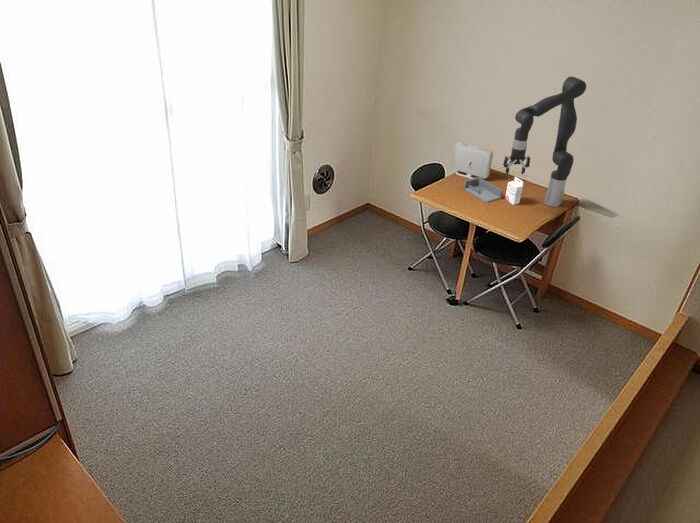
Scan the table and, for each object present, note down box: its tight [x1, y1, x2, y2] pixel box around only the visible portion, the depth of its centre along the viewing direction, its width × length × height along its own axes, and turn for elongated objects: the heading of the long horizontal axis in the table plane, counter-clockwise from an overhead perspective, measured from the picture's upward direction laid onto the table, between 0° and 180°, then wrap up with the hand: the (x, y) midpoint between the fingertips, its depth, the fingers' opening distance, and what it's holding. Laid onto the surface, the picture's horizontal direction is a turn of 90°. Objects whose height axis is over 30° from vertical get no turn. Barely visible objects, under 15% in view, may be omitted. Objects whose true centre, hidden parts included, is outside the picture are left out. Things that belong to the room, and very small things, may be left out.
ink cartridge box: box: [504, 176, 524, 206], centre depth 335 cm, size 9×5×15 cm, turn 25°
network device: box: [451, 141, 494, 180], centre depth 365 cm, size 26×9×20 cm, turn 53°
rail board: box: [462, 176, 504, 203], centre depth 346 cm, size 12×22×6 cm, turn 31°
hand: (514, 173), depth 318 cm, fingers open, 8 cm apart
